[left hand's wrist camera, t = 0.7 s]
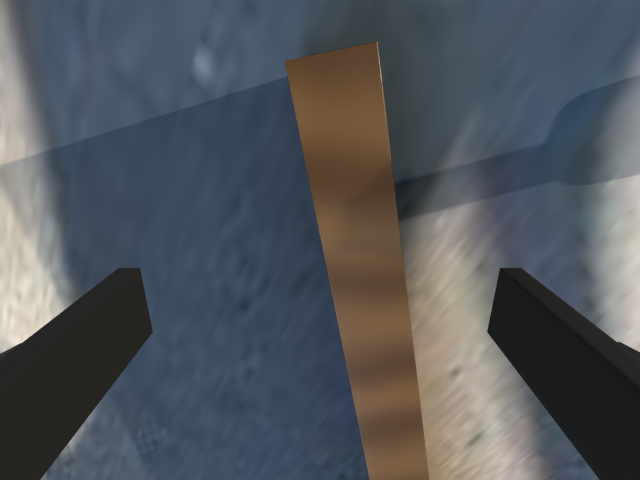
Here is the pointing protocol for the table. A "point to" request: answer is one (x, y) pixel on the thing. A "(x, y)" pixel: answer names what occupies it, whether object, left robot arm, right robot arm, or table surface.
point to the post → (362, 248)
